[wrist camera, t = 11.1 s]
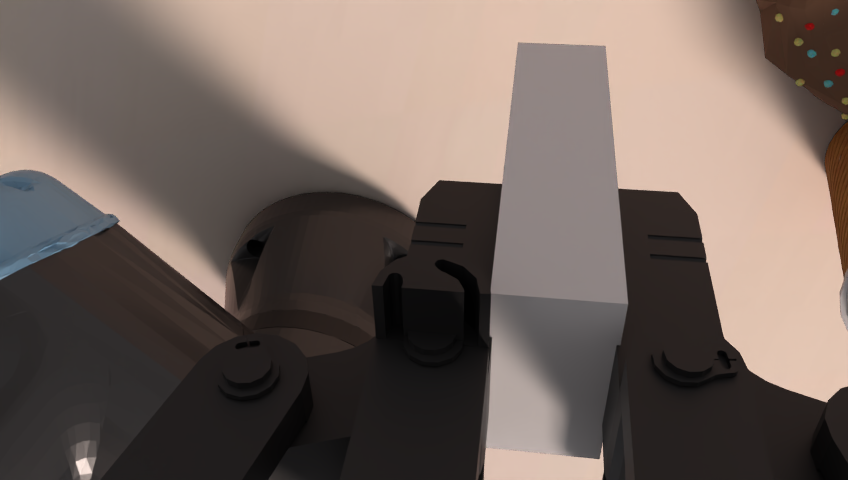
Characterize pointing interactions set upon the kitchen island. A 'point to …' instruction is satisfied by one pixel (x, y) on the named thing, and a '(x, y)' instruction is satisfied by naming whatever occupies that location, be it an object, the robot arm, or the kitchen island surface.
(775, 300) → the kitchen island surface
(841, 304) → the disposable coffee cup
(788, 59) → the donut
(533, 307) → the robot arm
